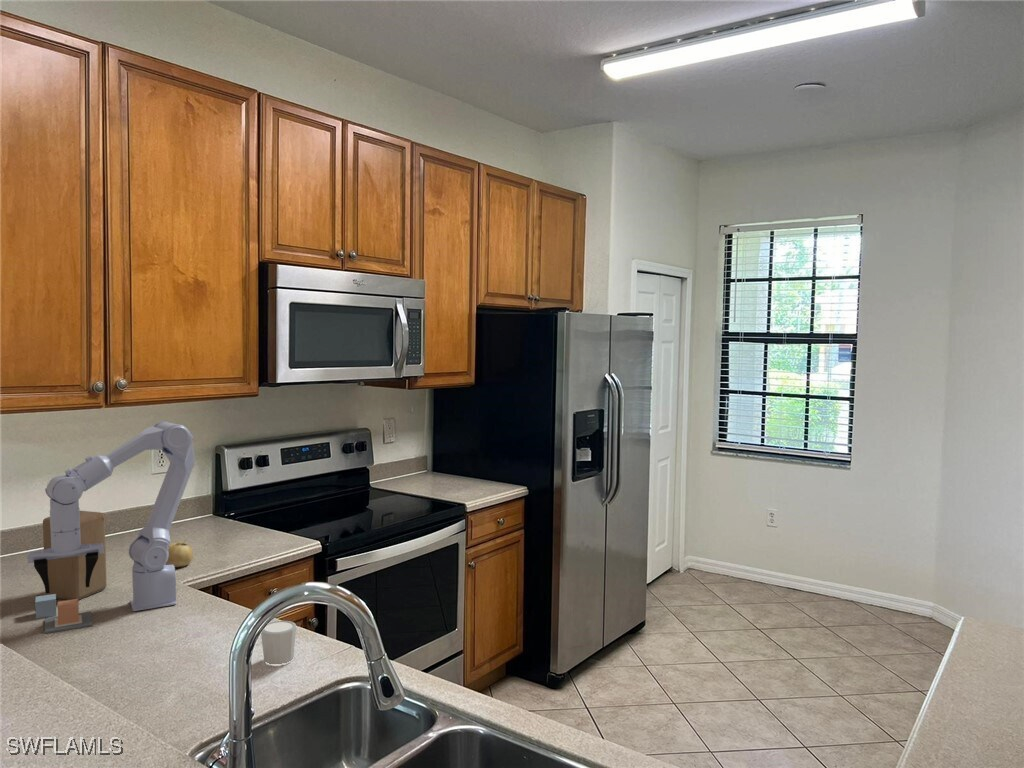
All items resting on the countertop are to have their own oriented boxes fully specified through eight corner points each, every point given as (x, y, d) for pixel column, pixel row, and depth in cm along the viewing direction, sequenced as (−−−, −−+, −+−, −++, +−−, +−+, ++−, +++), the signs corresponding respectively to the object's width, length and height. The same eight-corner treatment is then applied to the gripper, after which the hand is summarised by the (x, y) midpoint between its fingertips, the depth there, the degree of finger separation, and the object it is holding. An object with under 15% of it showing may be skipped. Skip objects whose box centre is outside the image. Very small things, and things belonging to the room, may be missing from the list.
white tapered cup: (255, 660, 151) (254, 626, 151) (286, 650, 156) (286, 617, 156) (271, 671, 147) (270, 636, 146) (303, 660, 151) (302, 626, 151)
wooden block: (108, 589, 192) (106, 511, 191) (76, 602, 182) (73, 521, 181) (76, 585, 195) (74, 508, 193) (43, 598, 185) (40, 518, 184)
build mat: (90, 612, 176) (90, 610, 176) (92, 625, 168) (92, 623, 168) (45, 620, 171) (45, 618, 171) (44, 633, 163) (44, 631, 163)
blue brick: (56, 610, 177) (55, 593, 177) (56, 615, 174) (55, 599, 174) (36, 613, 175) (35, 596, 175) (35, 619, 172) (35, 602, 172)
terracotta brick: (78, 615, 172) (78, 598, 172) (78, 621, 169) (78, 604, 169) (58, 619, 170) (57, 601, 170) (58, 625, 167) (57, 607, 167)
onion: (167, 572, 206) (166, 546, 206) (159, 564, 212) (158, 540, 212) (197, 566, 211) (196, 541, 211) (188, 559, 217) (188, 535, 217)
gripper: (101, 521, 175) (103, 578, 176) (27, 529, 168) (30, 589, 169) (103, 528, 169) (105, 587, 170) (26, 537, 162) (29, 598, 163)
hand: (67, 588), depth 169 cm, fingers open, 7 cm apart
